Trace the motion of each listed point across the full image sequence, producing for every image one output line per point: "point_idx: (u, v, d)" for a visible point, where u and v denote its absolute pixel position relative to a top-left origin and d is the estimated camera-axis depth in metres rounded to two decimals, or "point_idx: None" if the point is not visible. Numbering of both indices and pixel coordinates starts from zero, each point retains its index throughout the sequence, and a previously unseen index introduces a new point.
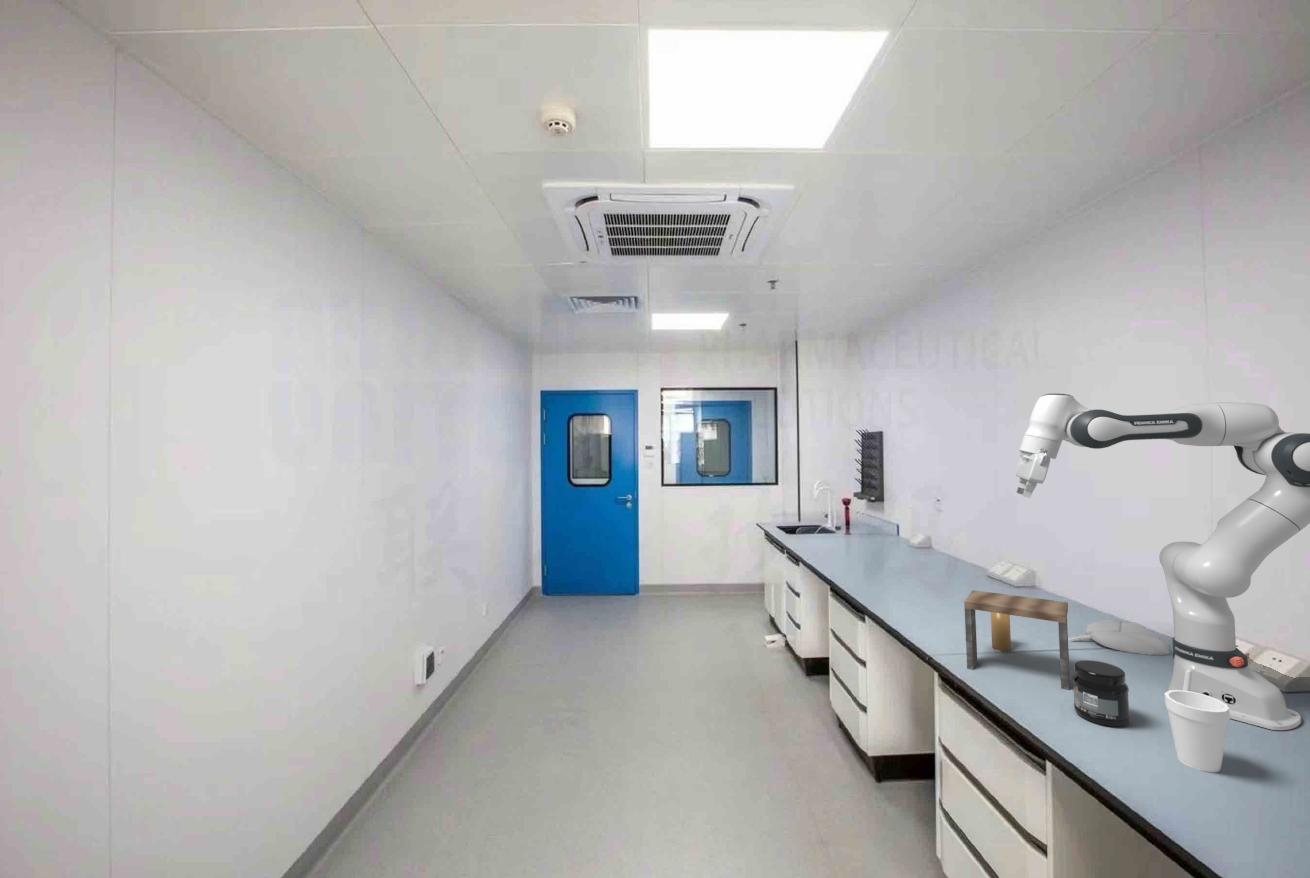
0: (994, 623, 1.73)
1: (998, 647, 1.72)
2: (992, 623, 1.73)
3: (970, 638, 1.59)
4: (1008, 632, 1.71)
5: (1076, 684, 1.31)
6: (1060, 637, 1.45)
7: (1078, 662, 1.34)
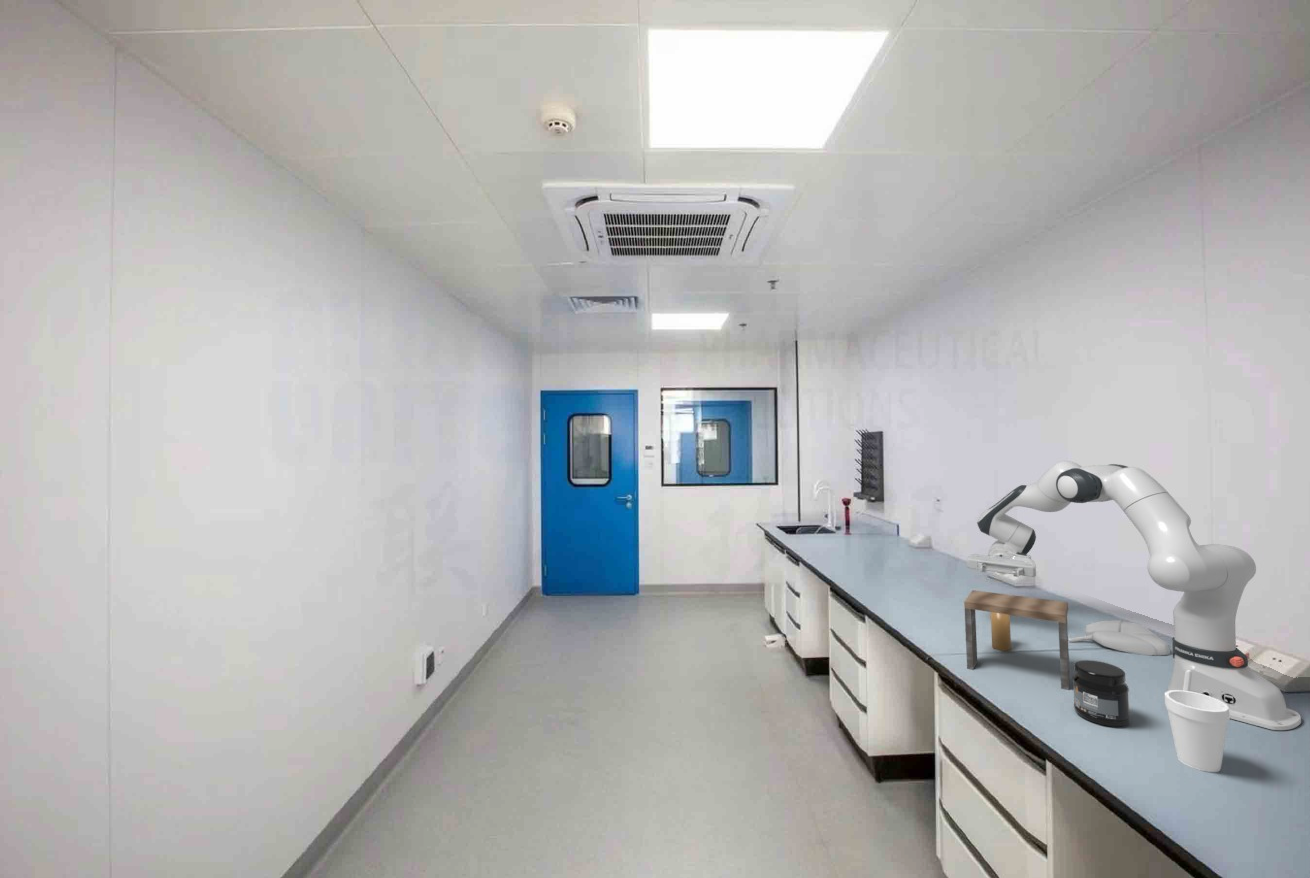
0: (994, 623, 1.73)
1: (998, 647, 1.72)
2: (992, 623, 1.73)
3: (970, 638, 1.59)
4: (1008, 632, 1.71)
5: (1076, 684, 1.31)
6: (1060, 637, 1.45)
7: (1078, 662, 1.34)
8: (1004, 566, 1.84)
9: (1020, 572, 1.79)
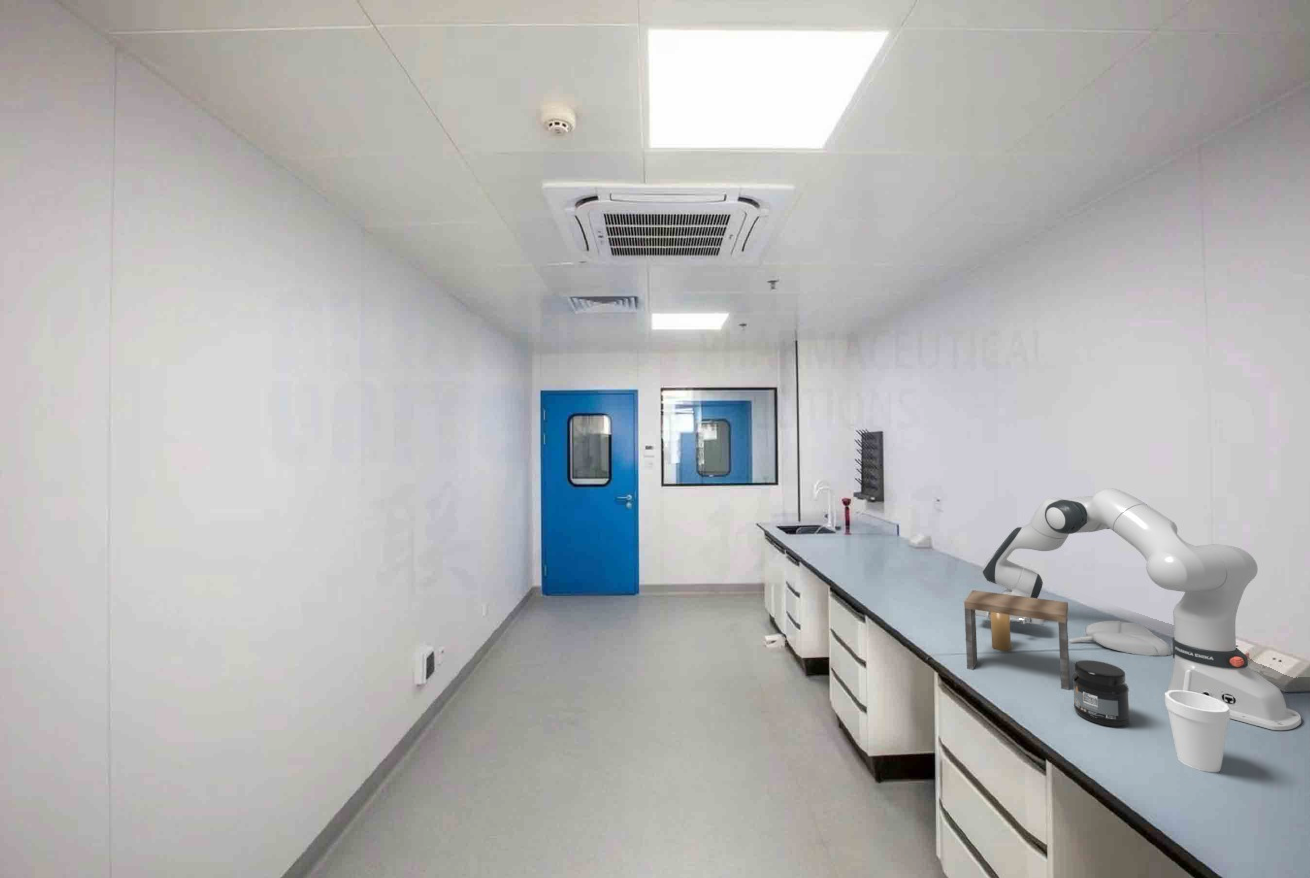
0: (994, 623, 1.73)
1: (998, 647, 1.72)
2: (992, 623, 1.73)
3: (970, 638, 1.59)
4: (1008, 632, 1.71)
5: (1076, 684, 1.31)
6: (1060, 637, 1.45)
7: (1078, 662, 1.34)
8: None
9: (1027, 619, 1.78)
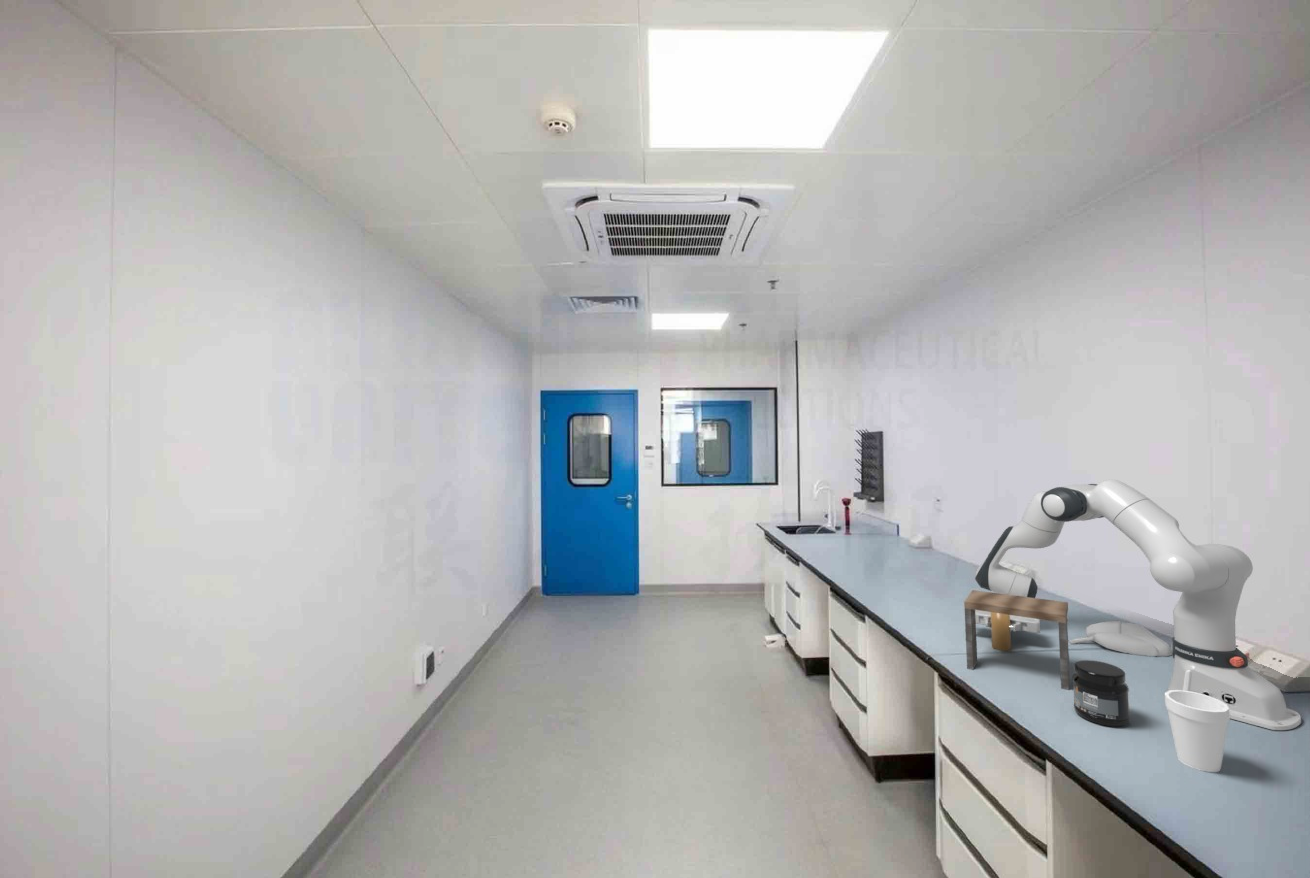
0: (994, 623, 1.73)
1: (998, 647, 1.72)
2: (992, 623, 1.73)
3: (970, 638, 1.59)
4: (1008, 632, 1.71)
5: (1076, 684, 1.31)
6: (1060, 637, 1.45)
7: (1078, 662, 1.34)
8: None
9: (1017, 627, 1.72)
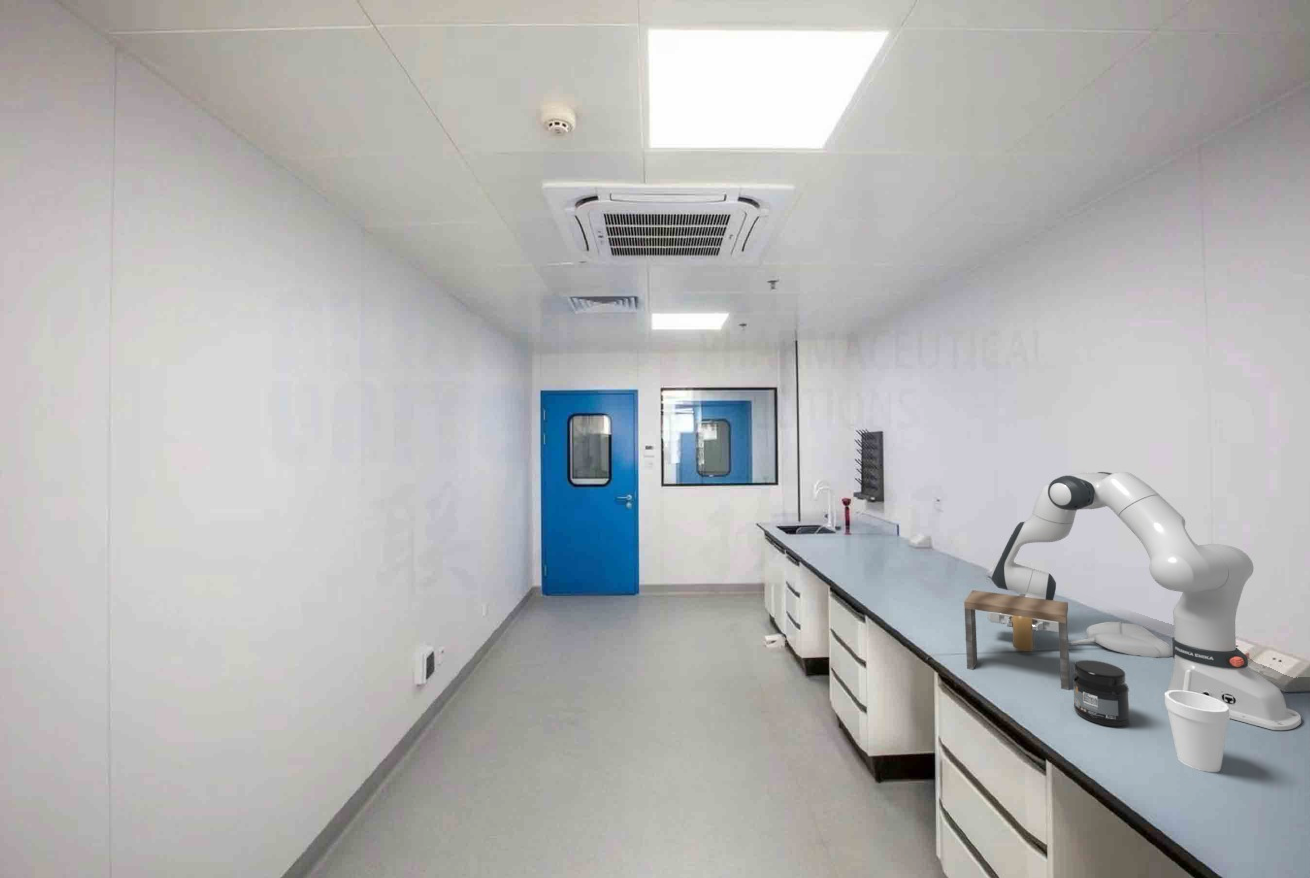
0: (1016, 622, 1.68)
1: (1020, 647, 1.67)
2: (1014, 622, 1.69)
3: (970, 638, 1.59)
4: (1030, 631, 1.66)
5: (1076, 684, 1.31)
6: (1060, 637, 1.45)
7: (1078, 662, 1.34)
8: None
9: (1040, 626, 1.67)
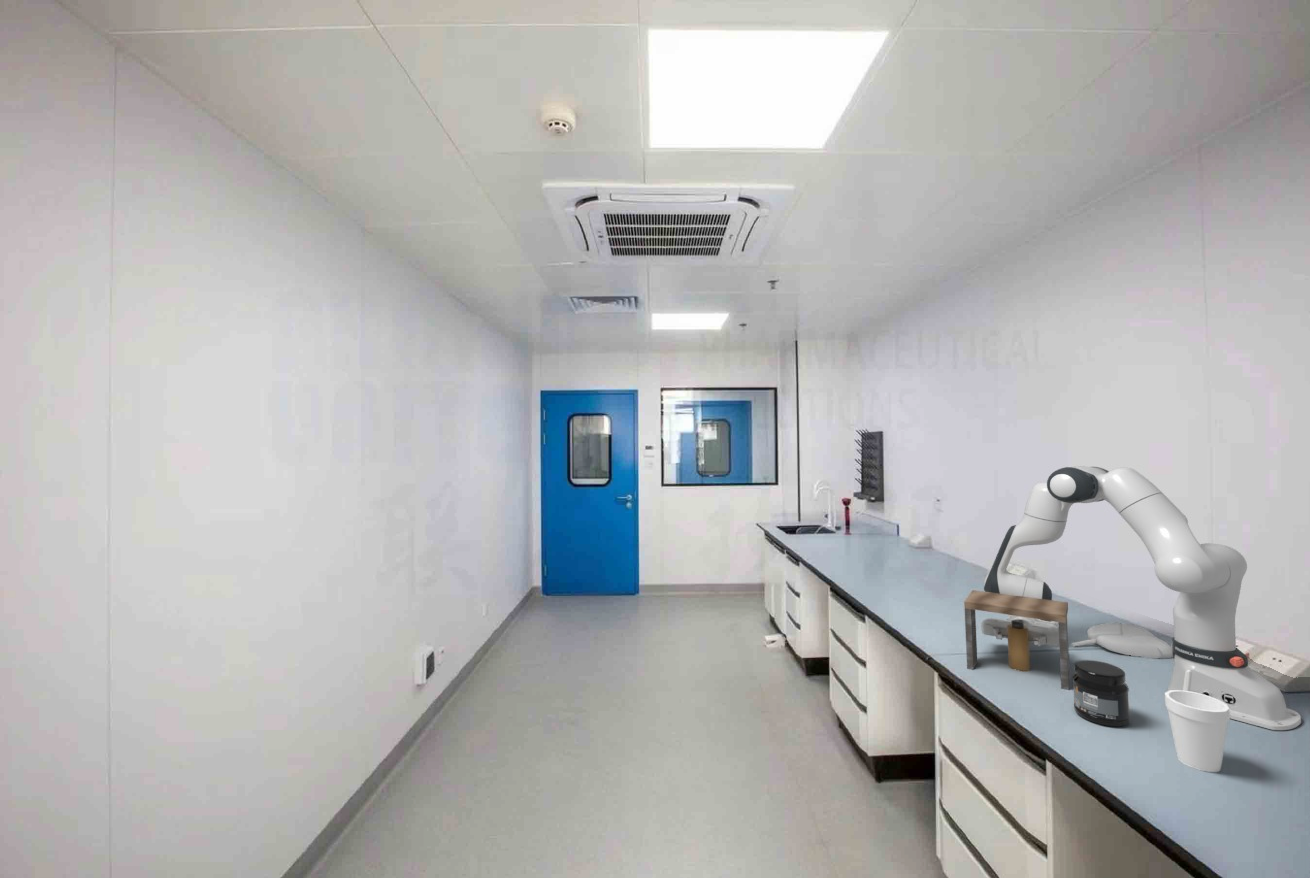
0: (1011, 641, 1.58)
1: (1016, 667, 1.57)
2: (1009, 640, 1.59)
3: (970, 638, 1.59)
4: (1027, 651, 1.56)
5: (1076, 684, 1.31)
6: (1060, 637, 1.45)
7: (1078, 662, 1.34)
8: None
9: (1042, 641, 1.56)
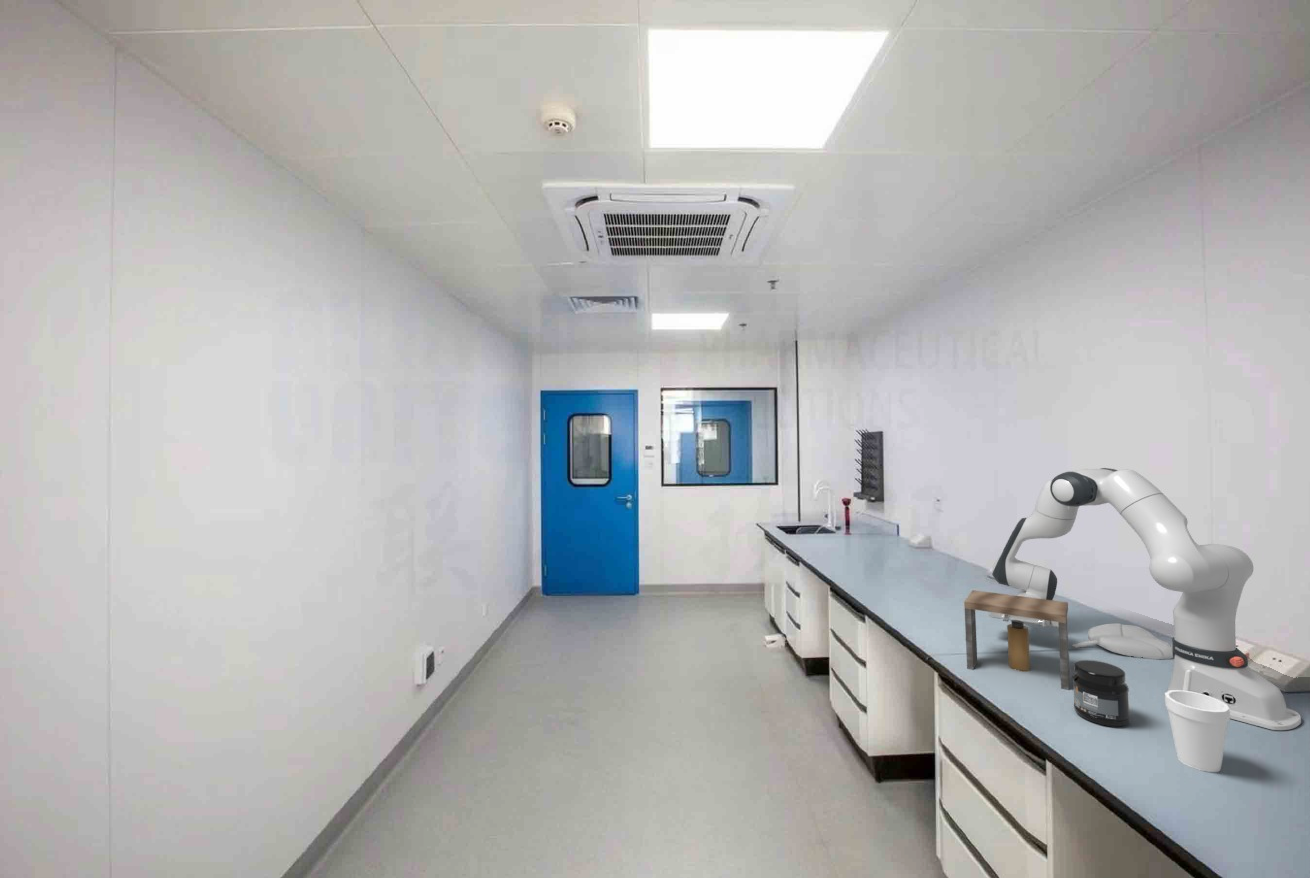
0: (1011, 641, 1.58)
1: (1016, 667, 1.57)
2: (1009, 640, 1.59)
3: (970, 638, 1.59)
4: (1027, 651, 1.56)
5: (1076, 684, 1.31)
6: (1060, 637, 1.45)
7: (1078, 662, 1.34)
8: None
9: (1046, 622, 1.66)
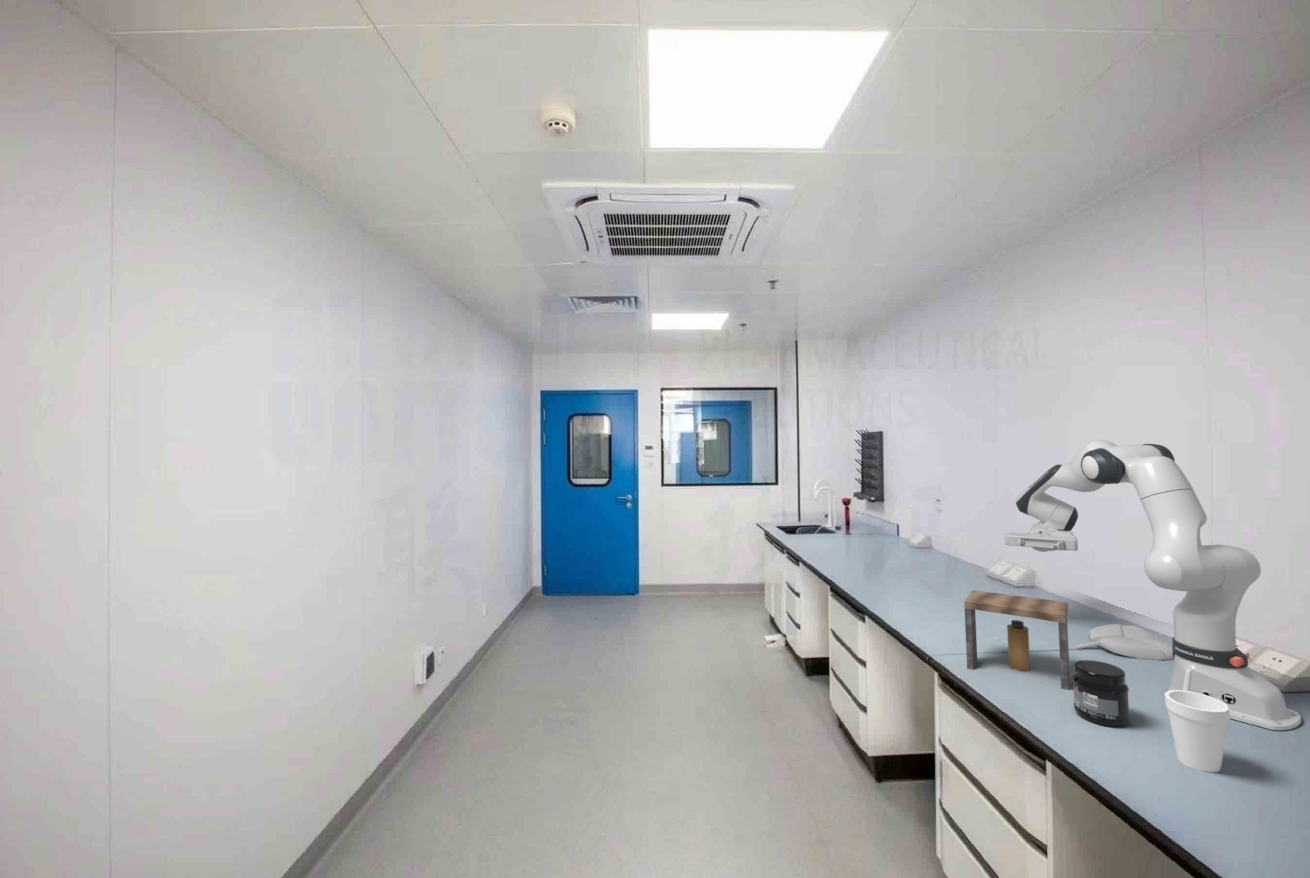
0: (1011, 641, 1.58)
1: (1016, 667, 1.57)
2: (1009, 640, 1.59)
3: (970, 638, 1.59)
4: (1027, 651, 1.56)
5: (1076, 684, 1.31)
6: (1060, 637, 1.45)
7: (1078, 662, 1.34)
8: (1044, 541, 1.80)
9: (1061, 545, 1.75)
